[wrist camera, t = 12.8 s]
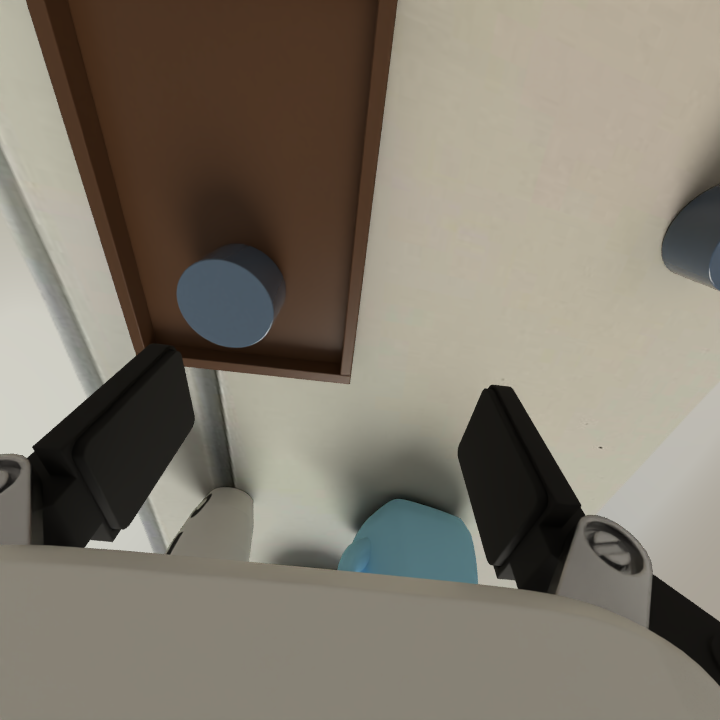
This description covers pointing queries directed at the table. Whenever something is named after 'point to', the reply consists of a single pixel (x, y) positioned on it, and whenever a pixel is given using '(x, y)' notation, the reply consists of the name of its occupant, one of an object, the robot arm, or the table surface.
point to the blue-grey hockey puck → (696, 240)
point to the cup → (217, 527)
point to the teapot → (413, 544)
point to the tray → (228, 156)
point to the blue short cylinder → (232, 295)
